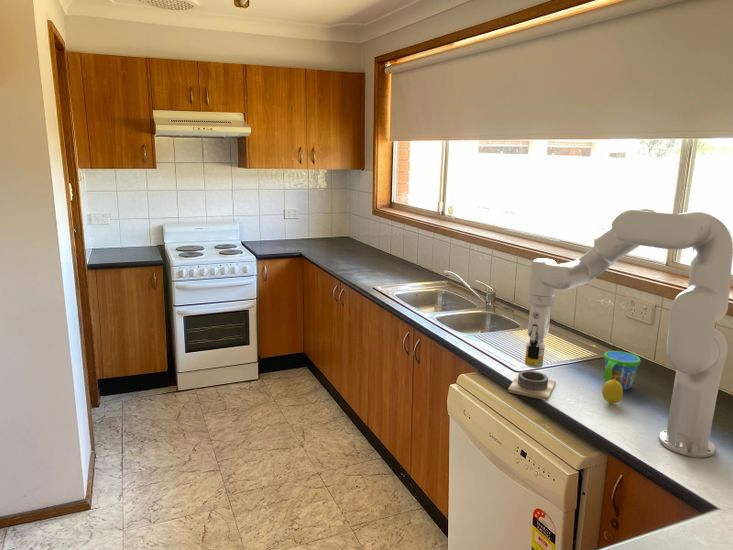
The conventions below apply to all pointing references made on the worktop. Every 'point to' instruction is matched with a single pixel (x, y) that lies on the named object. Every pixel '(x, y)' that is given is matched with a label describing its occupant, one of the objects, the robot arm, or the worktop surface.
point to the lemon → (612, 391)
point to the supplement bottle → (539, 362)
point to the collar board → (532, 385)
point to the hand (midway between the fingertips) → (534, 354)
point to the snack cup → (621, 367)
